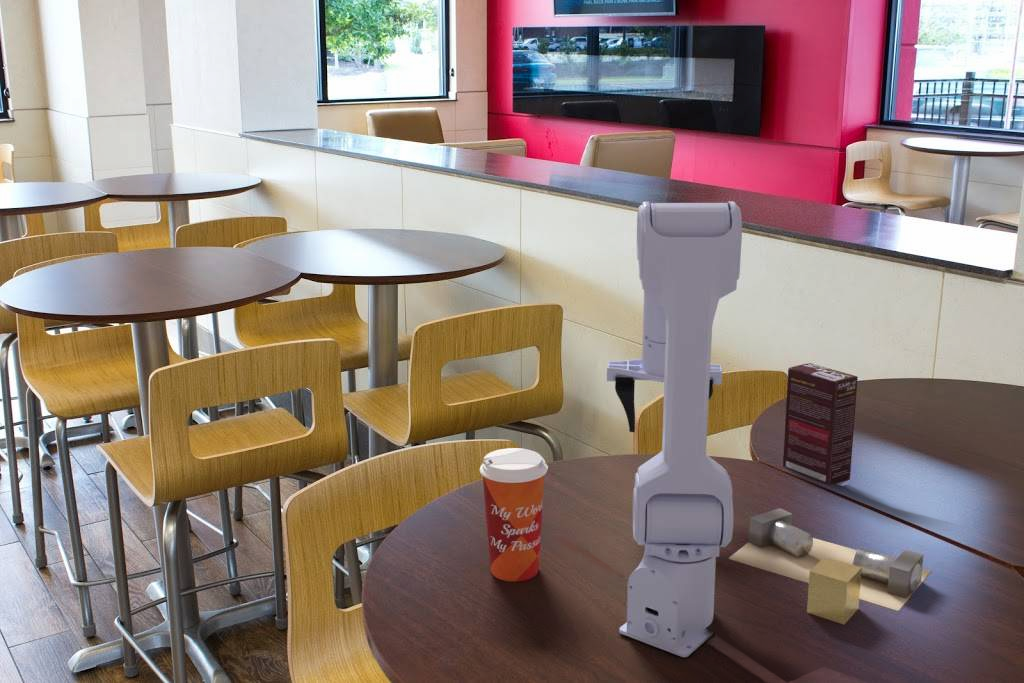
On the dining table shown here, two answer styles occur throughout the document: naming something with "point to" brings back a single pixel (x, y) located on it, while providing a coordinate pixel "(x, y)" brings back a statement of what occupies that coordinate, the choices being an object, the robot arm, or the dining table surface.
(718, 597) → the dining table surface
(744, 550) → the board
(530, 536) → the paper cup
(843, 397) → the supplement box
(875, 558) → the shaft straight
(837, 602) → the yellow rectangular block
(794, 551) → the shaft angled
